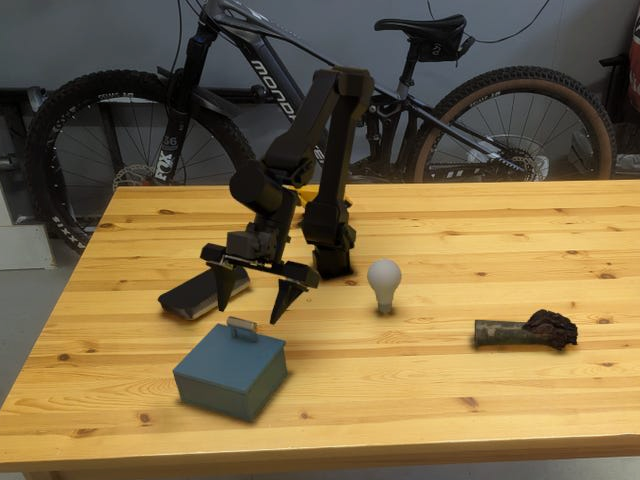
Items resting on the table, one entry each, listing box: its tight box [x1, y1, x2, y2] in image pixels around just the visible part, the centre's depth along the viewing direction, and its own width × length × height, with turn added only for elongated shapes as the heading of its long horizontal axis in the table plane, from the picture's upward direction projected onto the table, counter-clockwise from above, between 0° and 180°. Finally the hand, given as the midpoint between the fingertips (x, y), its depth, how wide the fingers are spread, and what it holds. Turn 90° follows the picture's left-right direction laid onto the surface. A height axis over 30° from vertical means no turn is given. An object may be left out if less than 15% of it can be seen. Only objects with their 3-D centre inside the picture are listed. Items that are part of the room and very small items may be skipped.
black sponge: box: [157, 266, 251, 321], centre depth 124 cm, size 16×8×4 cm, turn 143°
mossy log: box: [473, 308, 579, 352], centre depth 115 cm, size 18×7×6 cm, turn 87°
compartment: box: [173, 347, 289, 423], centre depth 105 cm, size 12×13×6 cm
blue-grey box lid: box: [171, 315, 287, 395], centre depth 102 cm, size 12×13×5 cm
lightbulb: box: [366, 258, 402, 314], centre depth 119 cm, size 6×6×11 cm
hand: (246, 317), depth 105 cm, fingers open, 9 cm apart
